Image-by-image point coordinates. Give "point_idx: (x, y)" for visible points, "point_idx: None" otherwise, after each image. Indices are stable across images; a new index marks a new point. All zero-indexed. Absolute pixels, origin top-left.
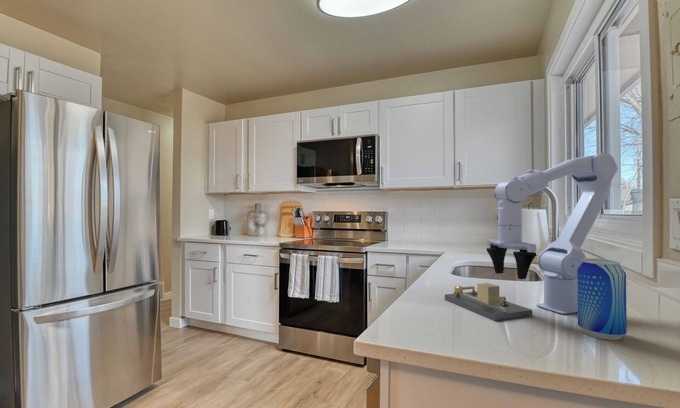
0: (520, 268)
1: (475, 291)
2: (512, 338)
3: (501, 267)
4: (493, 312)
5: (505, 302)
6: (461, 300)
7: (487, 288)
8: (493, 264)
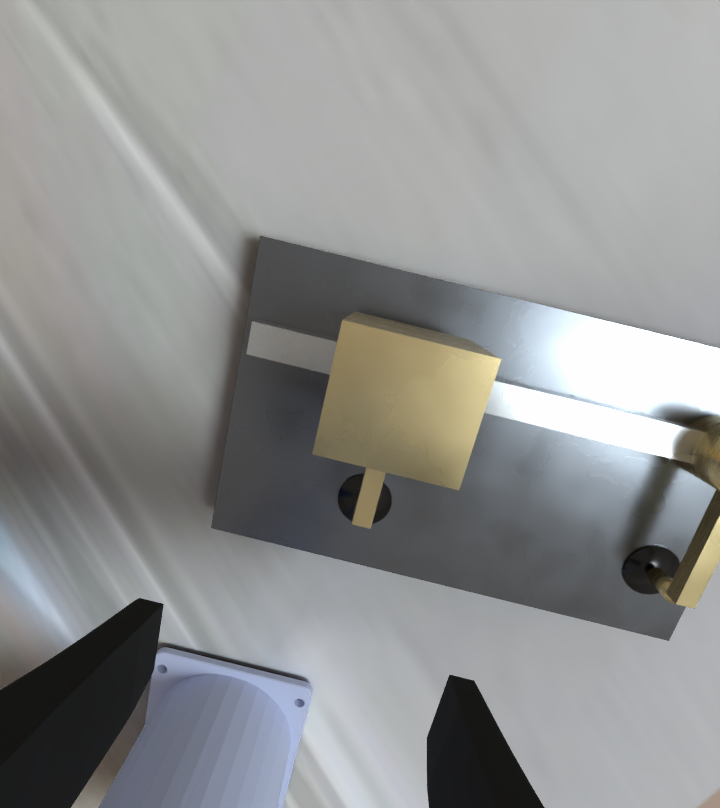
0: (21, 680)
1: (674, 628)
2: (34, 47)
3: (442, 795)
4: (297, 277)
5: (355, 503)
6: (609, 338)
7: (354, 322)
8: (520, 774)
